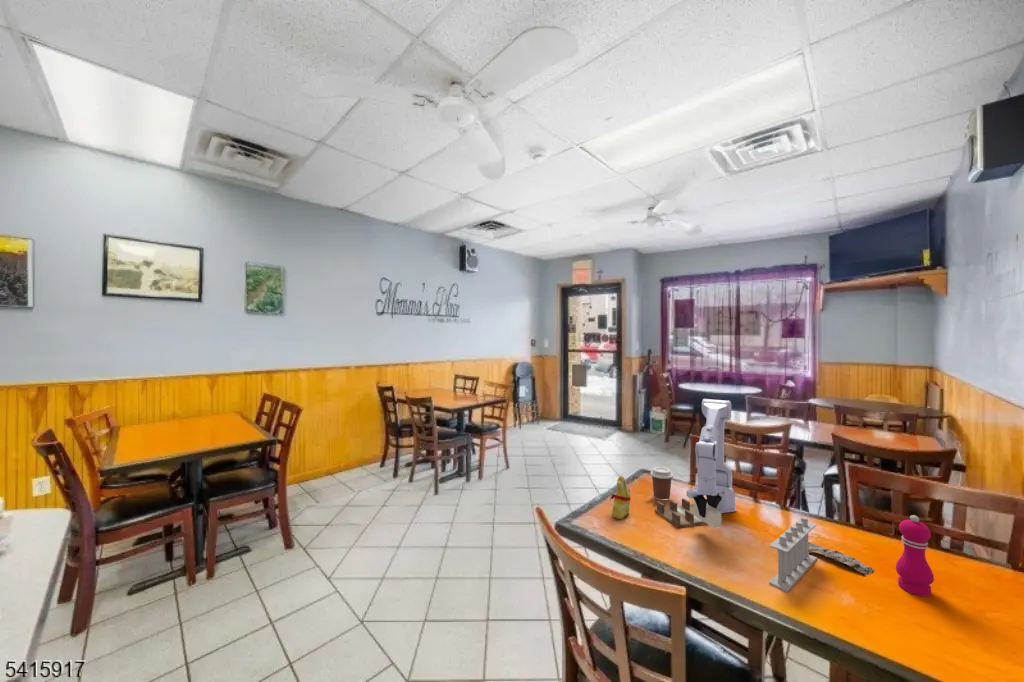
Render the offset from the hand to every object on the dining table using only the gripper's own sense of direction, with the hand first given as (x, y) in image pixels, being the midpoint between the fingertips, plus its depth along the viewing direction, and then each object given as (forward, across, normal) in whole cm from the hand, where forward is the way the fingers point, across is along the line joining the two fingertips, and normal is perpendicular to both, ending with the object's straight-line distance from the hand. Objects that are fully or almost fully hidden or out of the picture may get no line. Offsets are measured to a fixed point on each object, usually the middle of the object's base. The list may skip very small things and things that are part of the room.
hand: (706, 515), depth 136 cm
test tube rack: (+7, +10, -24) cm, 27 cm away
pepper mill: (+7, +34, -38) cm, 51 cm away
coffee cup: (+7, +4, +32) cm, 33 cm away
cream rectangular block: (+2, 0, 0) cm, 2 cm away
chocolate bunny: (+7, -21, +22) cm, 31 cm away
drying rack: (+7, +3, +14) cm, 16 cm away
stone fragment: (+8, +26, -18) cm, 33 cm away
